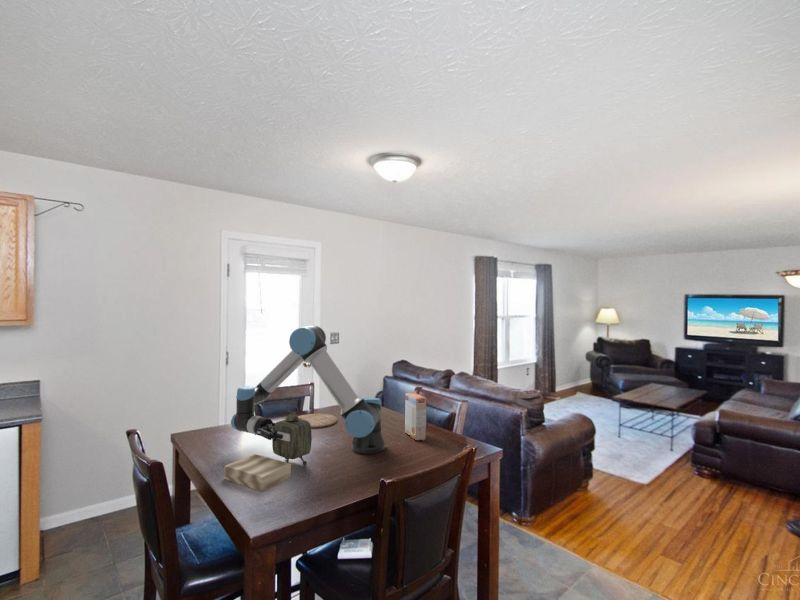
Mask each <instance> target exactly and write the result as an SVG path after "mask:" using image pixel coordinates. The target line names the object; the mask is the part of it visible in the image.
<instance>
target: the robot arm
mask: <svg viewBox="0 0 800 600" xmlns="http://www.w3.org/2000/svg"><path fill="white" fill-rule="evenodd" d="M326 340H327V336H326V332H325V331H324V330H323V328H322V327H320V326H318V325H309V326H308V325H307V326H306V325H304V326H299V327H298V328H295V329H294V330H293V331H292V333H291V334H290V336H289V340H288V341H289V347H290V350H291V351H290V352H289V353H288V354H287V355H286V356H284V358H282V360H281V361H280V362H279V363H278V364H277V365H276V366H275V367H273V369H272V370H270V372H269V373H268V374H267V375H266V376H265V377H263V379H262V380H260V382H259V383H258V384H257V385H256V386H255V387H254V386H253V385H252V386H250V385H249V386H247V385H245V386H240V387H237V390H236V413H234V415H233V416H232V418H231V420H230V425H231V427H232V429H234V430H236V431H238V432H242V433H249V434H253V435H254V436H259V437H263V438H264V439H267V440H268V441H272V438H273V441H276V438H277V439H280V440H285V441H290V434H288V433H283V432H277V433H276V431H275V430H273V427H274V425H275V423H276V422H273V420H272V419H271V418H269V417H264V416H260V415H256V414H255V408H256V407H255V406H256V405H258V404H260V403H262V402H265V401H267V400H268V399H269V398H270V397H271V395H272V393H273V392H274V391H275V390H277V389H278V387H280V385H281V384H282V383H284V381H286V379H287V378H289V377H290V376H291V375H292V374H293V373H294V371H296V369H298V368H299V366H301V365H302V363H308V364H310V365H311V367H312V368H313V370H314V371H315V373H316V374H317V376H318V377H319V378H320V380H321V381H322V383H323V384H324V385H325V387H326V389H327V390H328V392H329V393H330V394H331V396H332V397H333V399H334V400H335V401H336V403H337V405H338V406H339V408H340V416H341V417H342V419H343V420H344V427H345V429H346V431H347V433H348V434H349V435H351V436H352V437H353V439H352V443H351V450H352V451H353V452H355V453H358V454H361V455H362V454H363V455H370V454H371V455H372V454H373V453H374V454H377V453H381V452H383V451H384V450H385V448H386V443H385V440H384V436H383V433H382V406H383V405H382V400H381V399H380V398H379V397H377V398H376V397H361V396H358V394H357V393H356V392H355V390H354V389H353V388H352V386H351V384H350V383H349V381H348V380H347V379H346V378H345V376H344V374H343V373H342V372H341V370H340V368H339V367H338V366H337V364H336V362H334V360H333V359H332V357H331V356H330V354H329V353H328V352H327V350H328V345H327V344H326ZM382 450H383V451H382ZM380 451H381V452H380ZM374 454H373V455H374Z"/></svg>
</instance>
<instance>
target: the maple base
mask: <svg viewBox="0 0 800 600" xmlns="http://www.w3.org/2000/svg"><path fill="white" fill-rule="evenodd" d="M286 462H287V461H281V460H278V459H275V458H274V459H273V458H271V457H267V456H263V455H260V454H256V453H254V454H251V455H249V456H246V457H243V458H240V459H239V460H235V461H234V462H231V463H227V464H226V465H224V468H223V469H224V470H223V471H224V475H223V476H224V477H223V479H224V480H225V479H227V480H226V481H228V480H230V481H229V482H231V481H233V482H232V483H234V482H236V483H235V484H237V483H238V485H240V484H241V485H240V486H243V485H244V487H246V486H247V487H246V488H249V487H250V489H252V488H253V489H252V490H255V489H256V490H257V491H259V492H263V491H266V490H268V489H270V488H272V487H274V486H276V485H278V484H280V483H282V482H284V481H286V480H288V479H290V478H291V477H292V463H290V462H289V463H286ZM256 490H255V491H256Z"/></svg>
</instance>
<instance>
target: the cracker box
mask: <svg viewBox="0 0 800 600" xmlns="http://www.w3.org/2000/svg"><path fill="white" fill-rule="evenodd" d="M404 395H405V399H404V401H405V403H404V404H405V405H404V407H405V408H404V411H405V415H404V421H405V422H404V434H405V433H407V434H408V435H410V436H411V437H412V438H414V439H415V440H419V439H426V440H427V397H425V396H423V395H420V394H418V393H417V392H406V393H405V394H404ZM407 434H406V435H407ZM408 435H407V436H408ZM411 437H410V438H411ZM412 438H411V439H412ZM414 439H413V440H414ZM415 440H414V441H415Z"/></svg>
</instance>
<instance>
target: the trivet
mask: <svg viewBox="0 0 800 600" xmlns="http://www.w3.org/2000/svg"><path fill="white" fill-rule="evenodd" d="M297 416H298V418H301V419H303V420H306V421H308V422H309V423H310V425H311V428H316V429H322V428H321V427H324V428H328V427H327V426H329V427H331V426H330V425H332V426H334V425H335V424H337V422H338V421H337V420H338V418H337V417H336V416H335V415H333V414H329V413H309V414H301V415H297ZM333 424H334V425H333Z"/></svg>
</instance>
